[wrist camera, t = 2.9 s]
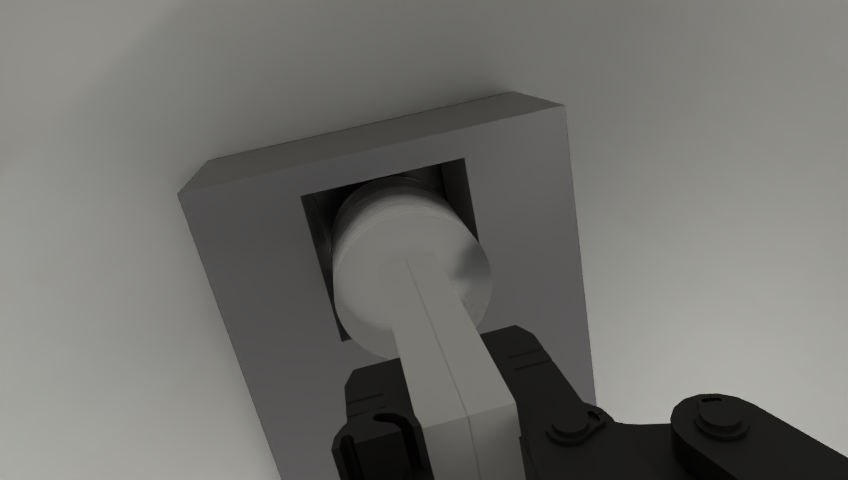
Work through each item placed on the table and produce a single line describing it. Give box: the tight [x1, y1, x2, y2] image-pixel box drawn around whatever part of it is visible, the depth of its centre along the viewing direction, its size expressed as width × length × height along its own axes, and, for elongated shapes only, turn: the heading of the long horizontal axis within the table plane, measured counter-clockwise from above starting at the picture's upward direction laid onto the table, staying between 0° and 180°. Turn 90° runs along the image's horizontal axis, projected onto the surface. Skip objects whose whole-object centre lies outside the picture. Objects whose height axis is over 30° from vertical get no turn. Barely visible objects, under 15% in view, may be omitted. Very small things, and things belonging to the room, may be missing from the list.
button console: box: [177, 92, 596, 480], centre depth 24 cm, size 12×23×5 cm, turn 11°
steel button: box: [331, 176, 492, 360], centre depth 18 cm, size 4×4×4 cm
